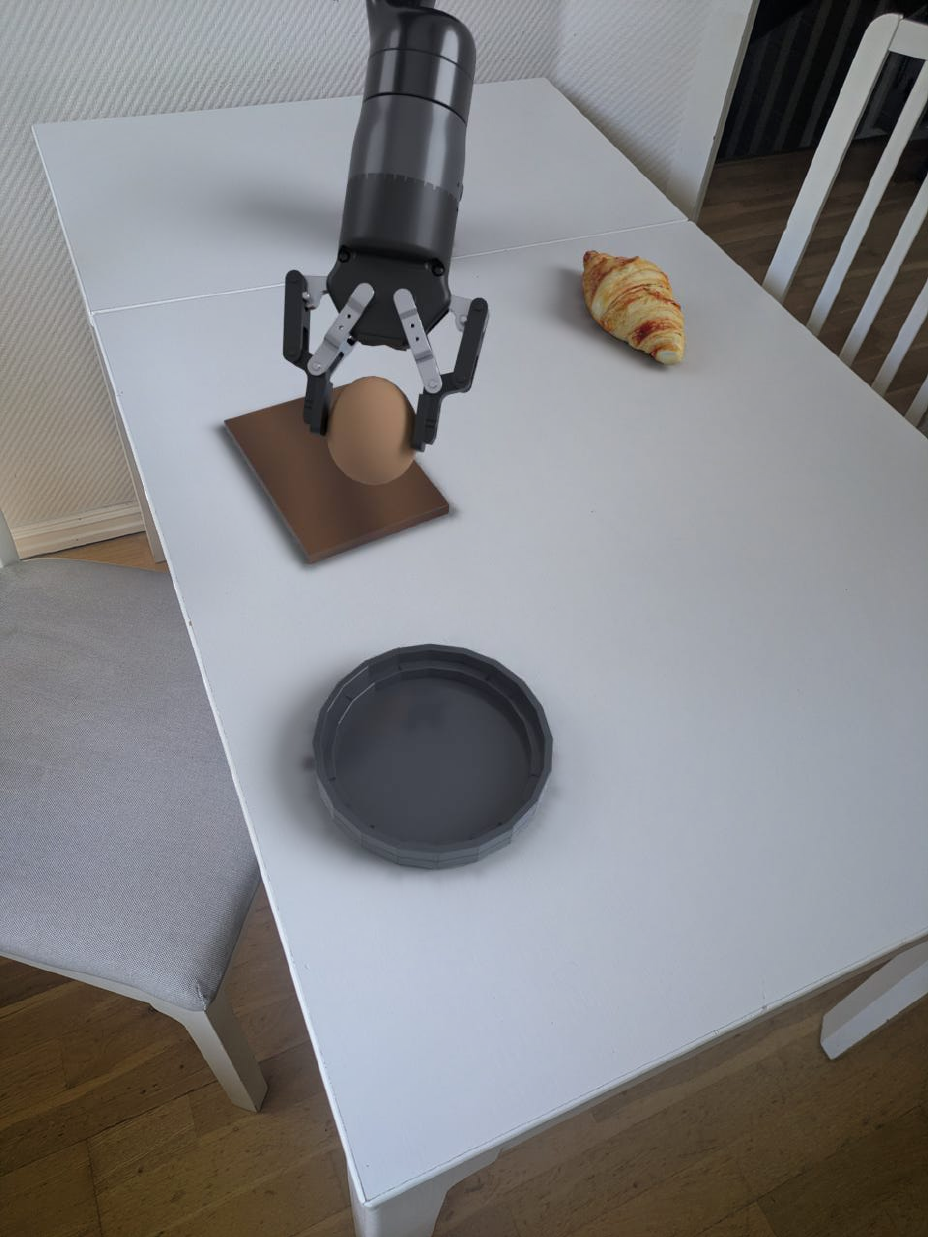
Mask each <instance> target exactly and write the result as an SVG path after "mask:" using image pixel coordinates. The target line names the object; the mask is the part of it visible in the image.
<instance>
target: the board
mask: <svg viewBox="0 0 928 1237" xmlns="http://www.w3.org/2000/svg"><path fill="white" fill-rule="evenodd" d="M350 383H351V382H349V383H346V384H342V385H339V386H336V387H333V391H332V398H331V405H330V411H331V409H332V407H333V405H334V403H335V401H336V399H337V397H338V395H339V394H340V393H341V392H342V391H343V389H344V388H345V387H346V386H347V385H349V384H350ZM304 402H305V396H302V397H298V398H295V399H291V400H288V401H285V402H281V403H278V404H274V405H271V406H267V407H264V408H261V409H258V410H254V411H251V412H247V413H244V414H240V415H237V416H233V417H229V418H227V419H224V420H223V423H224V428H225V431H226V433H227V435H228V436H229V438H230V439H231V441H232V443H233V444H234V446H235V448H236V449H237V451H238V452H239V454H240V455H241V457H242V459H243V460H244V462H245V463H246V464H247V466H248V468H249V470H250V471H251V472H252V474H253V476H254V478H255V479H256V480H257V482H258V484H259V485H260V487H261V489H262V490H263V492H264V493H265V495H266V497H267V498H268V500H269V501H270V503H271V504H272V506H273V508H274V509H275V511H276V513H277V514H278V516H279V517H280V519H281V520H282V522H283V524H284V525H285V527H286V528H287V530H288V532H289V533H290V535H291V537H292V538H293V540H294V541H295V544H297V546H298V547H299V550H300V551H301V553H302V554H303V555H304V557H305V559H306V560H307V563H309V565H313V564H315V563H317V562H320V561H322V560H325V559H328V558H331V557H334V556H336V555H340V554H342V553H345V552H348V551H350V550H352V549H356V548H358V547H361V546H364V545H366V544H369V543H371V542H374V541H378V540H380V539H382V538H386V537H388V536H391V535H393V534H396V533H399V532H402V531H405V530H407V529H409V528H412V527H415V526H418V525H420V524H424V523H426V522H429V521H431V520H434V519H437V518H439V517H442V516H445V515H448V514H449V513H450V503H449V502H448V500H447V499H446V498H445V497H444V496H443V494H442V493H441V491H440V490H439V489H438V488H437V487H436V485H435V483H433V481H432V480H431V479H430V478H429V476H428V475H427V474H426V472H425V471H424V470H423V469H422V468H421V466H420V465H419V463H418V462H417V461H416V459H415V458H414V459H413V461H412V463H411V465H410V466H409V468H408V469H407V470H406V471H405V472H404V473H403V474H402V475H401V476H399V477H398V478H396V479H394V480H392V481H390V482H388V483H385V484H379V485H368V484H363V483H361V482H358V481H355V480H353V479H351V478H350V477H348V476H347V475H346V474H345V473H344V472H343V471H342V470H341V469H340V468H339V467H338V466H337V465H336V463H335V461H334V460H333V458H332V456H331V453H330V450H329V447H328V440H327V433H326V436H325V437H324V436H318V435H313V434H311V433H310V425H307V424H305V423H304V419H303V409H304ZM329 413H330V412H329Z"/></svg>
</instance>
